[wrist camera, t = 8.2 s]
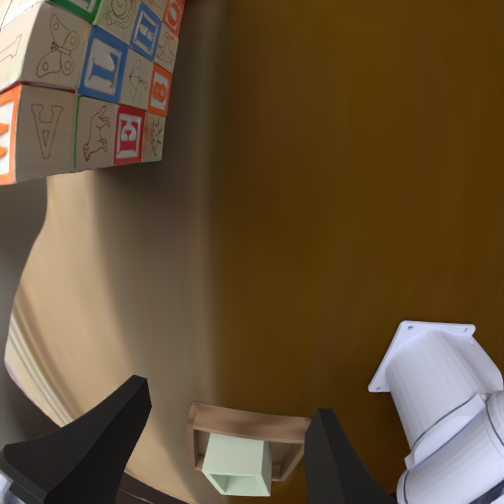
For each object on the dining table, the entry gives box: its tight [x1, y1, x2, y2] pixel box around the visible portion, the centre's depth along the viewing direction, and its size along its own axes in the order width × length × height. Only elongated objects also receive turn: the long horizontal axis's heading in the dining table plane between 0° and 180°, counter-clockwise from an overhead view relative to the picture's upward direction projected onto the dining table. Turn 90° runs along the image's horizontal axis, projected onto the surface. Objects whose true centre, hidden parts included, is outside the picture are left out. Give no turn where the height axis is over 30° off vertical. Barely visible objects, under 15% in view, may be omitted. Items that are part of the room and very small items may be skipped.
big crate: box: [186, 401, 311, 481], centre depth 24 cm, size 12×12×3 cm
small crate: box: [202, 433, 272, 496], centre depth 22 cm, size 6×8×6 cm
